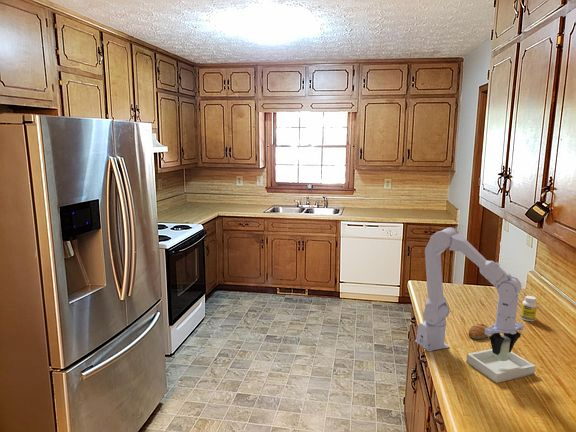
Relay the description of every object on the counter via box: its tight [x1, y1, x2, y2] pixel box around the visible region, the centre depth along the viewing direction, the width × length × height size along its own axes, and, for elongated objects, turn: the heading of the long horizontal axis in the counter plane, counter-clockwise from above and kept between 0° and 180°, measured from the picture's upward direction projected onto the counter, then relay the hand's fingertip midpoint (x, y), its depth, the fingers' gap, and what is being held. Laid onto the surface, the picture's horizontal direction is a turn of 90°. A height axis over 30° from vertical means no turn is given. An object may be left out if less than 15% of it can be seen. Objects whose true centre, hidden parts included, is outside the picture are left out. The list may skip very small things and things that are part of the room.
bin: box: [465, 348, 536, 384], centre depth 139 cm, size 16×13×3 cm
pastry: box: [467, 323, 489, 340], centre depth 162 cm, size 9×7×4 cm
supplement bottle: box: [520, 295, 538, 322], centre depth 176 cm, size 5×5×10 cm
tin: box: [493, 334, 511, 361], centre depth 138 cm, size 5×5×7 cm
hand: (501, 352), depth 138 cm, fingers closed on tin, 4 cm apart
